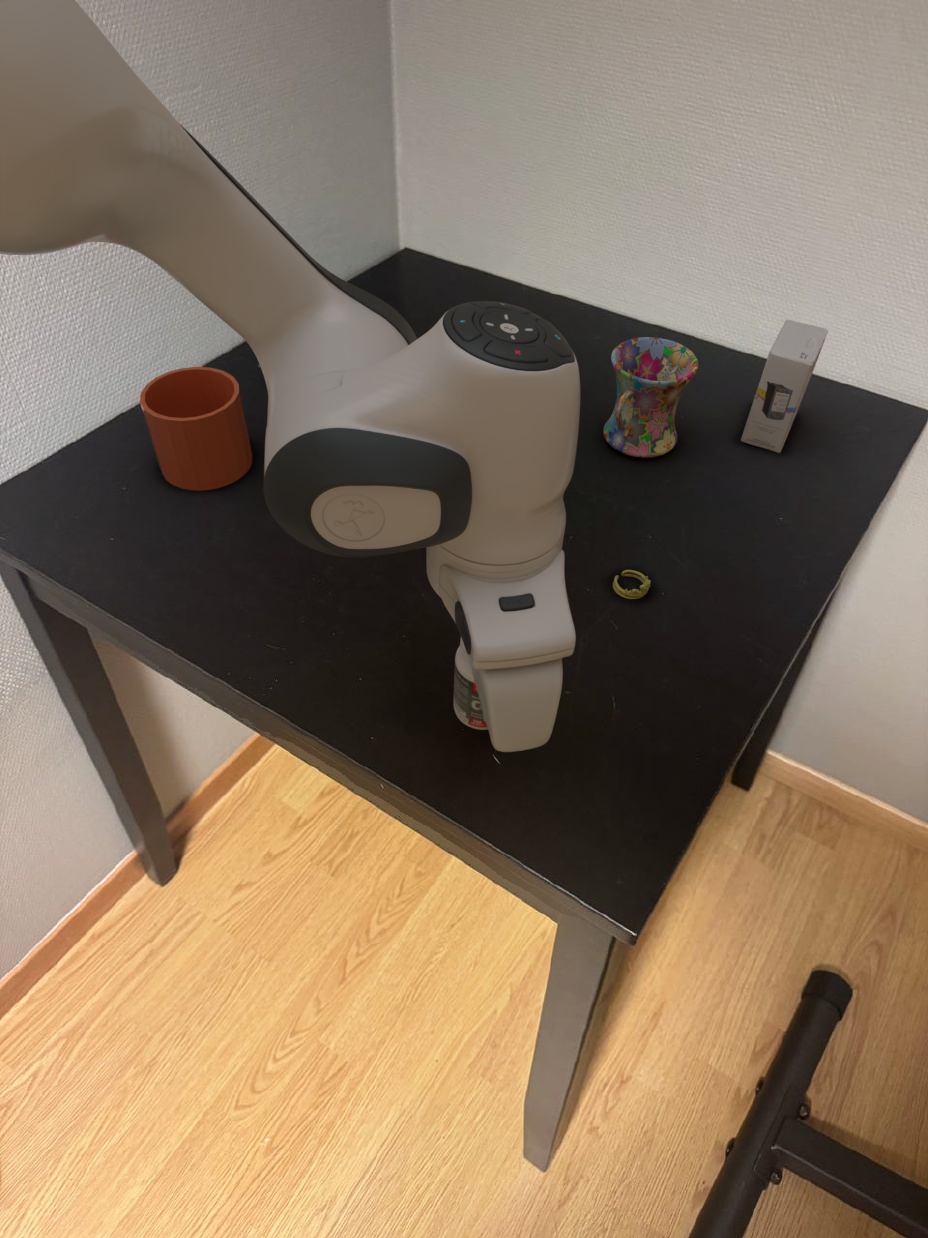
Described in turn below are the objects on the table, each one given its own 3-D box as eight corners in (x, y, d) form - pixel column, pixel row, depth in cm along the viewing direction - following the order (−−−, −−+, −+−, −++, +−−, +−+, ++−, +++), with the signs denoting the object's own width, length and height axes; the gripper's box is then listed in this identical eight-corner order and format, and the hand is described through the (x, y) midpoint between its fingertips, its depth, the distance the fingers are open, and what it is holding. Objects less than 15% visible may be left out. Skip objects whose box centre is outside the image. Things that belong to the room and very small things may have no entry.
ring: (627, 609, 83) (639, 593, 81) (605, 584, 84) (616, 568, 81) (650, 593, 85) (663, 577, 82) (628, 569, 86) (640, 552, 83)
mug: (622, 408, 105) (637, 327, 97) (692, 436, 101) (713, 354, 93) (571, 456, 98) (582, 373, 90) (644, 487, 94) (662, 404, 87)
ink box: (756, 406, 106) (784, 315, 97) (797, 417, 104) (830, 326, 96) (738, 443, 100) (766, 351, 92) (781, 456, 99) (814, 363, 90)
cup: (160, 496, 92) (138, 425, 85) (162, 441, 99) (141, 371, 92) (255, 485, 94) (240, 414, 87) (250, 432, 100) (237, 362, 94)
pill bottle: (470, 740, 67) (474, 671, 61) (443, 696, 70) (444, 627, 63) (523, 718, 68) (532, 649, 62) (494, 676, 71) (500, 606, 65)
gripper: (418, 461, 63) (420, 594, 73) (480, 675, 49) (472, 802, 59) (502, 452, 64) (492, 584, 74) (585, 660, 50) (560, 787, 61)
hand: (484, 683), depth 67 cm, fingers closed on pill bottle, 5 cm apart
